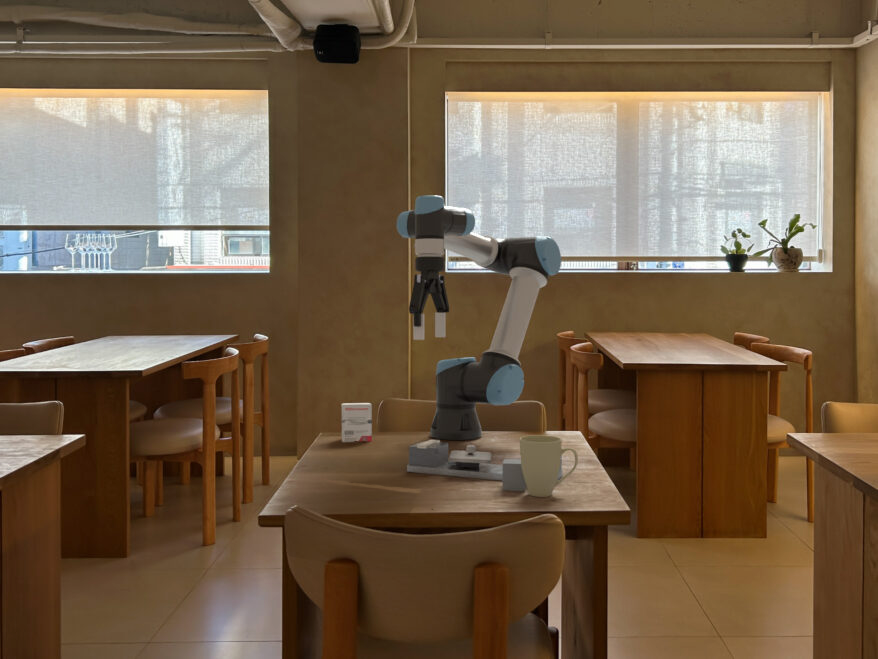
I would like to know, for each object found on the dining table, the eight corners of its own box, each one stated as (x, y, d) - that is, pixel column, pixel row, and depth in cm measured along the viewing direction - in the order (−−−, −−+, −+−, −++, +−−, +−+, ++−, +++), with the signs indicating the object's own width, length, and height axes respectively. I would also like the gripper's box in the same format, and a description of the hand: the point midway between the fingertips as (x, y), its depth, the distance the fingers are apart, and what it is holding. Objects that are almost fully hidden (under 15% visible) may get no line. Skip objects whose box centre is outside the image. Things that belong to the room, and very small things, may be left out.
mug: (534, 501, 174) (535, 444, 174) (511, 491, 183) (512, 436, 183) (579, 496, 179) (580, 440, 178) (555, 487, 188) (555, 433, 187)
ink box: (370, 442, 246) (370, 401, 246) (372, 445, 241) (371, 404, 241) (341, 442, 245) (341, 402, 245) (342, 445, 240) (341, 404, 240)
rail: (424, 464, 214) (424, 438, 213) (562, 476, 199) (562, 448, 199) (407, 471, 204) (407, 444, 204) (550, 485, 190) (550, 456, 189)
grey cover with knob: (490, 471, 197) (491, 449, 197) (448, 468, 197) (449, 446, 197) (490, 465, 206) (491, 444, 206) (450, 462, 207) (452, 441, 207)
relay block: (504, 485, 190) (504, 459, 190) (526, 486, 189) (526, 459, 189) (502, 490, 185) (502, 463, 185) (525, 491, 184) (525, 464, 184)
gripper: (435, 258, 230) (435, 335, 231) (395, 254, 207) (395, 340, 208) (461, 257, 227) (461, 336, 228) (422, 253, 204) (423, 341, 205)
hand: (429, 338), depth 218 cm, fingers open, 13 cm apart
